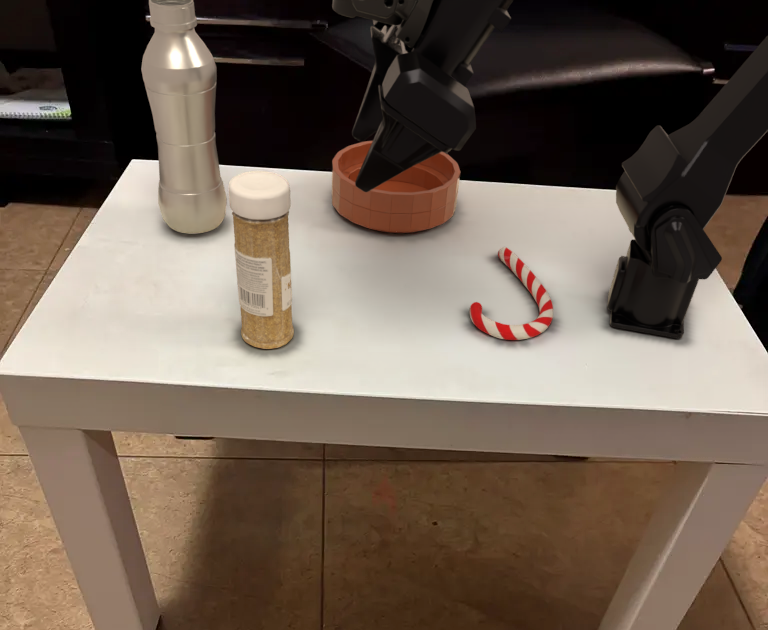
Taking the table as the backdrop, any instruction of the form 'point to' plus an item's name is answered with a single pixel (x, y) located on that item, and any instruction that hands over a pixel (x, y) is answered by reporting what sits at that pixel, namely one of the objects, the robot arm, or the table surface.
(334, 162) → the bowl
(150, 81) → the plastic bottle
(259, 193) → the sprinkles bottle
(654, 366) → the table surface
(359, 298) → the table surface
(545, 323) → the candy cane
